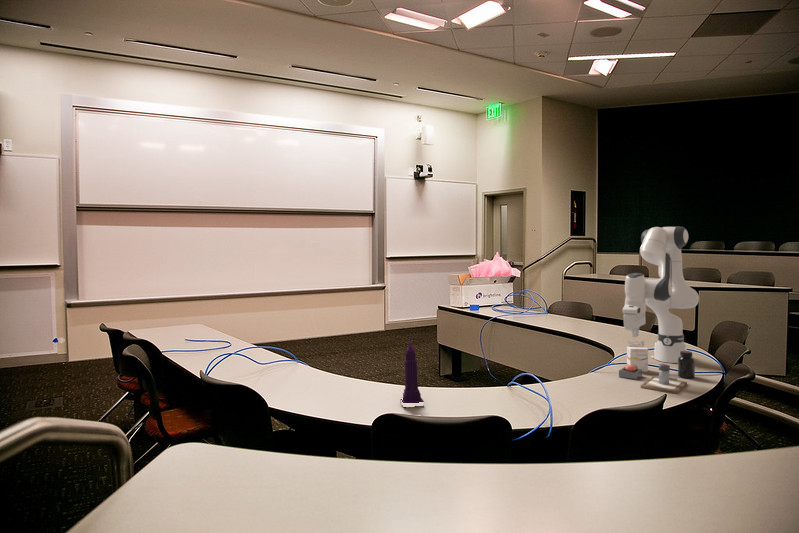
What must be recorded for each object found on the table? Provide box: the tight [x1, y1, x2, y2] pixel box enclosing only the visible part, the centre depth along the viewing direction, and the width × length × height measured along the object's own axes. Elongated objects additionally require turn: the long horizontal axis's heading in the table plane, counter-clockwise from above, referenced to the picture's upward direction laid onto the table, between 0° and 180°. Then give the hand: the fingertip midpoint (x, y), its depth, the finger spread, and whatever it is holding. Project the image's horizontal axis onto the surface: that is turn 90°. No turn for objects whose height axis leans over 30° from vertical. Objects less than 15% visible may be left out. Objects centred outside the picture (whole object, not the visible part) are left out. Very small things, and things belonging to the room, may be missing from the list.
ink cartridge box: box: [626, 340, 649, 373], centre depth 236 cm, size 9×5×15 cm, turn 84°
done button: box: [624, 364, 636, 372], centre depth 226 cm, size 4×4×3 cm
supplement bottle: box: [677, 350, 696, 380], centre depth 223 cm, size 7×7×12 cm
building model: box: [400, 337, 425, 403], centre depth 195 cm, size 9×6×30 cm
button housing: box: [618, 366, 643, 381], centre depth 226 cm, size 8×8×3 cm
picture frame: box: [640, 376, 688, 395], centre depth 211 cm, size 18×14×2 cm
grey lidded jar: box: [658, 363, 671, 384], centre depth 210 cm, size 4×4×8 cm
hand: (635, 336), depth 223 cm, fingers closed
